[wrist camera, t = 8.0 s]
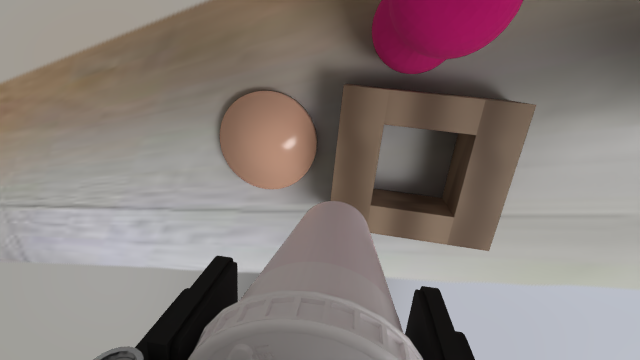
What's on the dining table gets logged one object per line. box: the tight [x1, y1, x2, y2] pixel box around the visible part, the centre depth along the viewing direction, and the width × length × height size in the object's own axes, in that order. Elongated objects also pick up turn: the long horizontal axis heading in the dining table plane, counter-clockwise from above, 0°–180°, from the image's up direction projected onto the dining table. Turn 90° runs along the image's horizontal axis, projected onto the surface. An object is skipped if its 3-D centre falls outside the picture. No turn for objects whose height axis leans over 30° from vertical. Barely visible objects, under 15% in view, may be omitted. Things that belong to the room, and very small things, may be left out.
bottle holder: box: [330, 84, 536, 251], centre depth 31 cm, size 16×14×5 cm
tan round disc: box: [220, 91, 317, 189], centre depth 34 cm, size 11×11×1 cm
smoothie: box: [188, 201, 424, 360], centre depth 10 cm, size 6×6×14 cm
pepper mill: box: [372, 0, 523, 74], centre depth 20 cm, size 7×7×20 cm
